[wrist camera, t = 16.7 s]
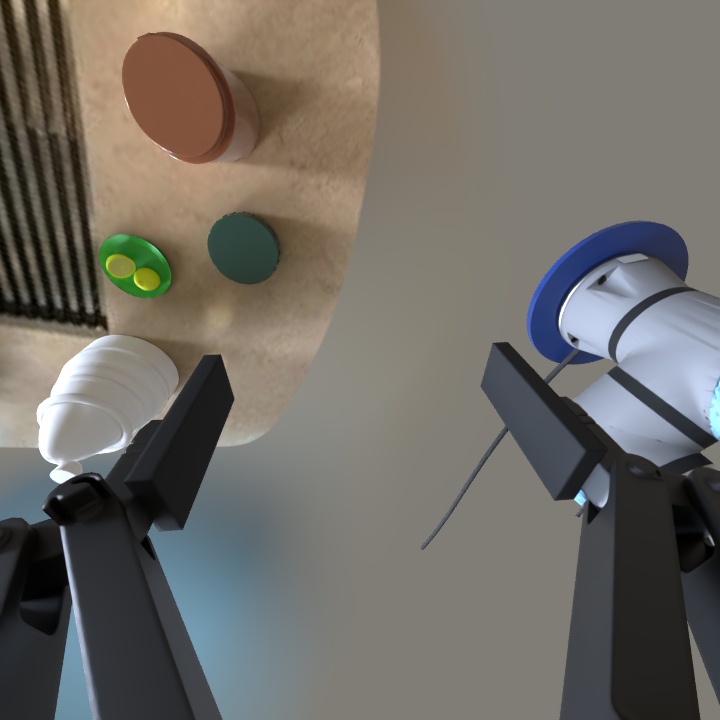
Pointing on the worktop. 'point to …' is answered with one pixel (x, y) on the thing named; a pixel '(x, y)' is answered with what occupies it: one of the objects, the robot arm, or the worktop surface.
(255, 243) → the jar lid
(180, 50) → the jam jar
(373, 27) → the worktop surface
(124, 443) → the honey pot
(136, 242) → the lemons on plate
